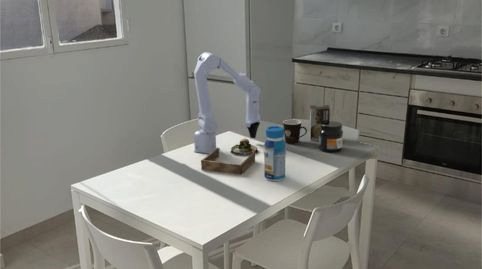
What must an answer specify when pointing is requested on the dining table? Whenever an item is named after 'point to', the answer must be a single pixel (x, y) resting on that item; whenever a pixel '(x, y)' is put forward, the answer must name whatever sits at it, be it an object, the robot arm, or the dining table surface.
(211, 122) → the robot arm
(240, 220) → the dining table surface
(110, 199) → the dining table surface
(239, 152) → the burger
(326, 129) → the supplement container
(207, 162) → the box
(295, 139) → the coffee mug
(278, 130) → the beverage bottle
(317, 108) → the coffee box
